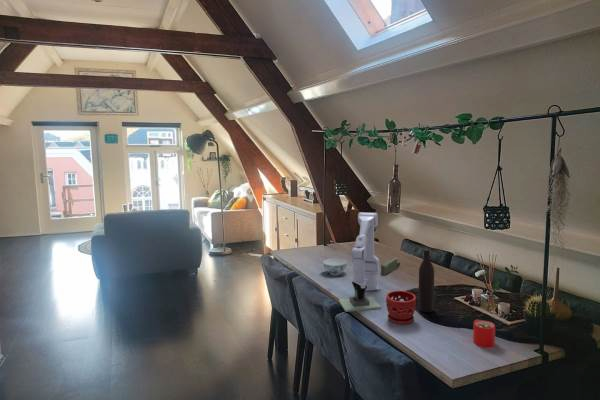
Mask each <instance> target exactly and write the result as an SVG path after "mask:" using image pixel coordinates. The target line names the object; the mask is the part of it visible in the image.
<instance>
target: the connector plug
mask: <svg viewBox="0 0 600 400" xmlns="http://www.w3.org/2000/svg"><path fill="white" fill-rule="evenodd" d="M365 292H366V291H365ZM365 292H364V296H363V299H358V294H357V290H354V297H355V300H356V301H365V297H366V295H365V294H366V293H365Z"/></svg>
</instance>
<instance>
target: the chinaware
mask: <svg viewBox="0 0 600 400" xmlns="http://www.w3.org/2000/svg"><path fill="white" fill-rule="evenodd" d="M322 263H323V267H324V269H325V270H326V271H327V272H328V273H329V274H330V275H332V276H340V275H341V274H342V273H343V272H344V271H345V270H346V268H347V266H348V260H346V259H344V258H343V259H342V258H328V259H324V260H323V262H322Z"/></svg>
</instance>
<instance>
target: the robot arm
mask: <svg viewBox="0 0 600 400" xmlns="http://www.w3.org/2000/svg"><path fill="white" fill-rule="evenodd" d="M357 222H358V224H359V226H360V227H359V234H358V235H357V236H356V239H355V243H354V245H353V248H352V249H351V254H350V255H351V261H352V270H353V273H352V274H353V277H352V281H351V284H352V286H353V289H354V291H355V290H357V294H358V299H363V296H364V292H367V291H378V290H380V288H379V287H378V273H380V271H381V263H380V259H379V257H377V256H376V255H375V228H376V227H378V225H379V214H378V213H377V212H364V211H363V212H362V211H360V212H358V214H357Z"/></svg>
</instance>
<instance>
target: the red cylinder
mask: <svg viewBox="0 0 600 400" xmlns="http://www.w3.org/2000/svg"><path fill="white" fill-rule="evenodd" d="M472 328H473V337H472V338H473V341H472V342H473V344H475V345H476V346H477V347H480V348H487V349H489V348H493V347H495V343H496V324H495V323H494V322H491V321H488V320H482V319H475V320H474V321H473V326H472Z"/></svg>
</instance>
